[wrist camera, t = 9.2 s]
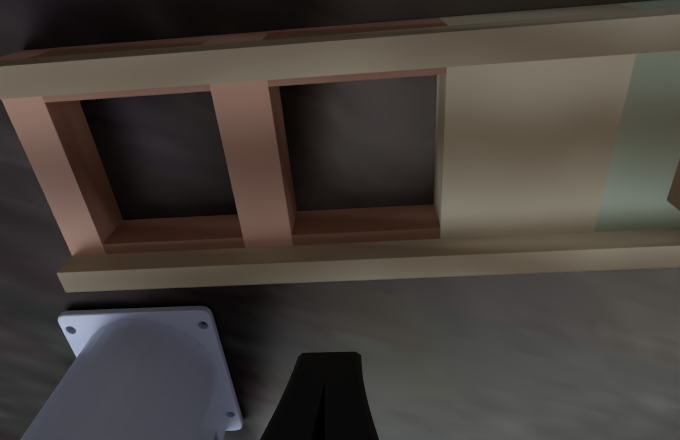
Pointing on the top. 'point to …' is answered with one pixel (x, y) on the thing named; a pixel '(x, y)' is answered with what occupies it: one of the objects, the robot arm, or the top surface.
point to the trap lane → (450, 149)
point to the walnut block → (675, 189)
